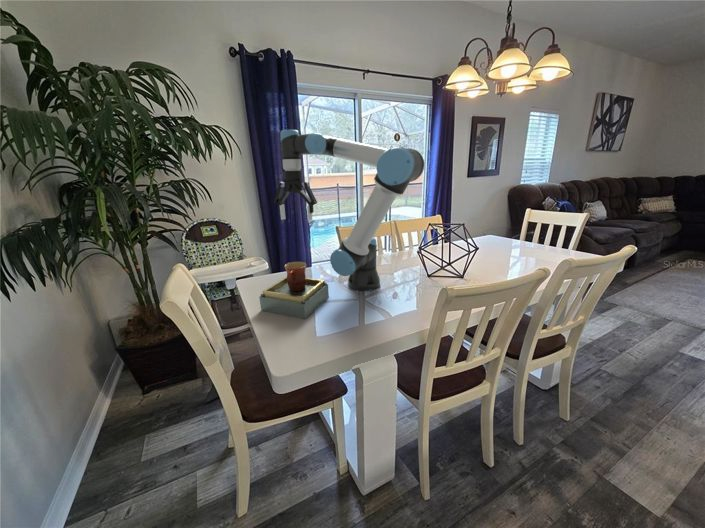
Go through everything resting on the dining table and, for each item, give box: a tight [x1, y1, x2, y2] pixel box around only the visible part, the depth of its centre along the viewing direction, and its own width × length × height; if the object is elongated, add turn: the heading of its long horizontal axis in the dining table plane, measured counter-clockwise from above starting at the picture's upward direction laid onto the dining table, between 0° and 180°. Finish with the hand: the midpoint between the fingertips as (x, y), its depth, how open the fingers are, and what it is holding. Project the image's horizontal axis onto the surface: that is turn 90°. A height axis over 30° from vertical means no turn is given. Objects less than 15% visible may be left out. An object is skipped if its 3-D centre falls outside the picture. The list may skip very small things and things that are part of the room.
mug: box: [284, 261, 307, 291], centre depth 115 cm, size 12×9×10 cm
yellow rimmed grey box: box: [258, 276, 329, 320], centre depth 118 cm, size 23×20×9 cm
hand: (296, 220), depth 128 cm, fingers open, 13 cm apart
